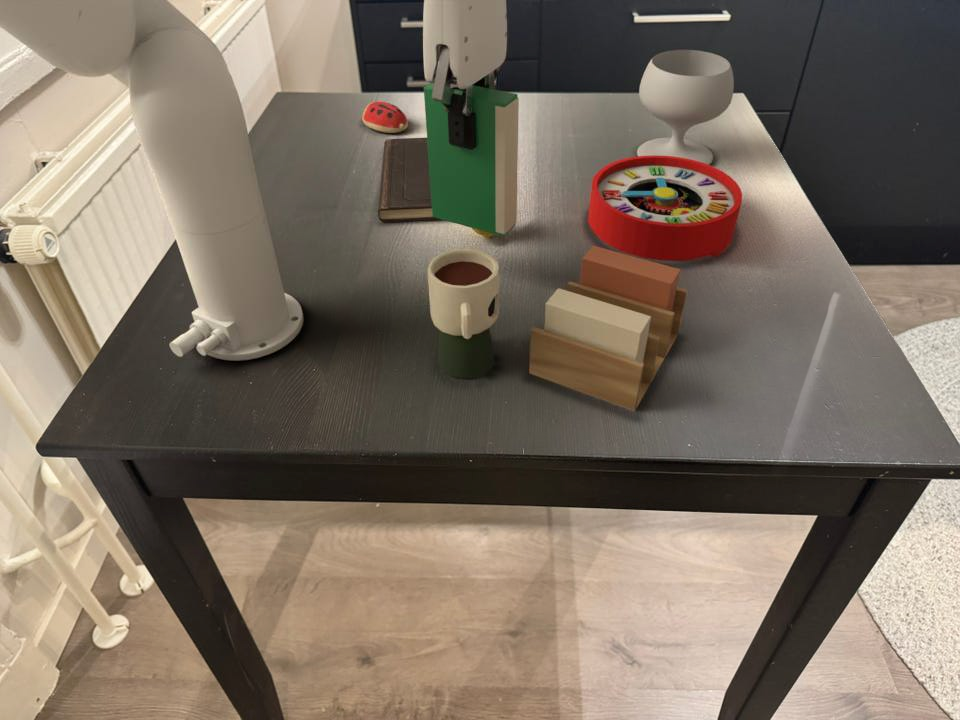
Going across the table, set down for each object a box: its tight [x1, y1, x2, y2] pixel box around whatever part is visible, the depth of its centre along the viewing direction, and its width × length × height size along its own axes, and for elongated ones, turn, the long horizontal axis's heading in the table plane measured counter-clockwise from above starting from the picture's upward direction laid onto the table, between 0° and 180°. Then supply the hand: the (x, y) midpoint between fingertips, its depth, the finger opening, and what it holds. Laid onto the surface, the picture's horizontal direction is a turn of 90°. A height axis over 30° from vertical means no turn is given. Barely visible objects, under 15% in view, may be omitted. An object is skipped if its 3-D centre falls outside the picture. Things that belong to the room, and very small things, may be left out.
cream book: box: [543, 287, 651, 363], centre depth 75 cm, size 3×10×9 cm, turn 60°
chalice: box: [636, 49, 735, 165], centre depth 113 cm, size 14×14×15 cm
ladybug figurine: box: [361, 101, 409, 134], centre depth 128 cm, size 7×10×4 cm
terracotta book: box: [579, 245, 681, 312], centre depth 81 cm, size 3×10×9 cm, turn 61°
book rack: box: [528, 281, 689, 412], centre depth 79 cm, size 14×12×7 cm
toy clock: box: [587, 155, 743, 262], centre depth 100 cm, size 20×6×20 cm
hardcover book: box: [377, 137, 443, 223], centre depth 112 cm, size 16×23×2 cm
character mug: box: [427, 248, 500, 380], centre depth 76 cm, size 11×7×13 cm, turn 4°
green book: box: [423, 83, 520, 238], centre depth 83 cm, size 3×10×16 cm, turn 61°
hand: (471, 138), depth 81 cm, fingers closed on green book, 3 cm apart
